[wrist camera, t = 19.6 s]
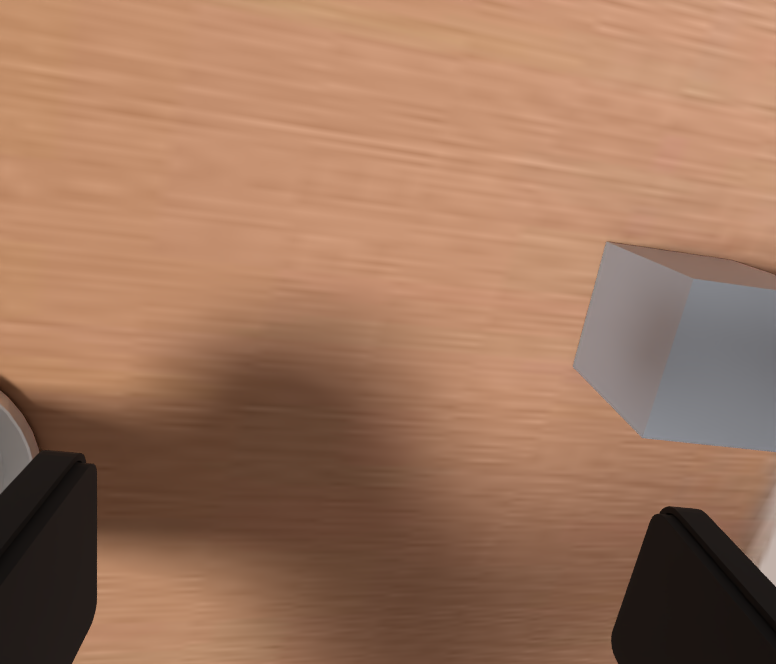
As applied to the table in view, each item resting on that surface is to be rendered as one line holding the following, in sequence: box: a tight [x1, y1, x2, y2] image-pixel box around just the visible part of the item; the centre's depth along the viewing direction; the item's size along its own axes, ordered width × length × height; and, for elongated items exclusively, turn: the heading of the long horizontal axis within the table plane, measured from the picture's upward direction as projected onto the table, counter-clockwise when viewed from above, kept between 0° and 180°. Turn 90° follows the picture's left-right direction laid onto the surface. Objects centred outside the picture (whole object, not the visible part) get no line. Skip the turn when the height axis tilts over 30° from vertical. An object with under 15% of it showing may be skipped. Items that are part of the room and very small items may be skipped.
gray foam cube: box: [573, 242, 776, 452], centre depth 31 cm, size 8×8×9 cm
